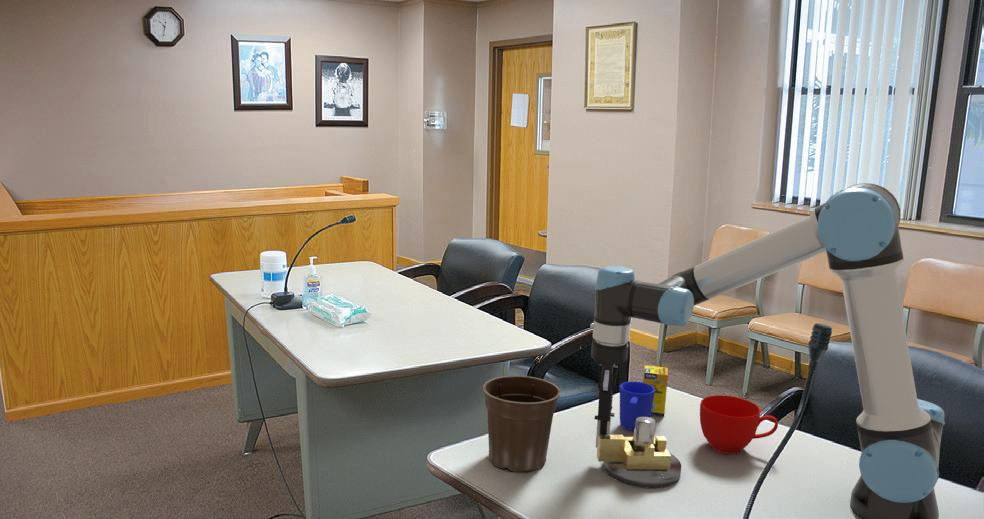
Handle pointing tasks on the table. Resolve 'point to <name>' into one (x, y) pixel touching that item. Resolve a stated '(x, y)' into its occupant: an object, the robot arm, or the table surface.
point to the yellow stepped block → (622, 451)
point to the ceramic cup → (731, 422)
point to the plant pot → (519, 420)
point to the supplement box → (657, 387)
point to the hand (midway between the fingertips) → (602, 446)
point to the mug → (635, 403)
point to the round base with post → (644, 476)
